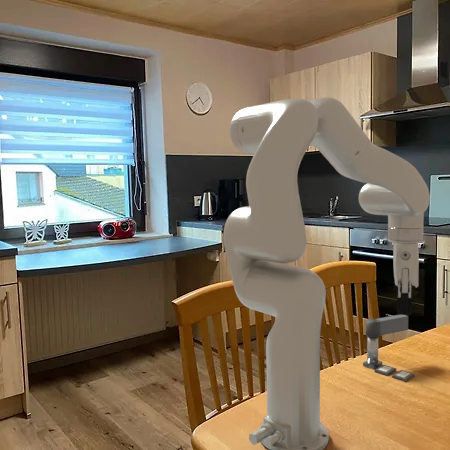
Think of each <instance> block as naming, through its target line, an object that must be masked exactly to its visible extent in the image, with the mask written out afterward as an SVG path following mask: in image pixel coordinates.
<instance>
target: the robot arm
mask: <svg viewBox="0 0 450 450" xmlns="http://www.w3.org/2000/svg"><path fill="white" fill-rule="evenodd" d="M229 135H230V140H231V142H232V143H233V146H234V147H235V148H236V149H237V150H238V151H240V152H242V153H244V154H247V155H253V156H252V158H251V160H250V163H249V165H248V168H247V172H246V176H245V177H246V178H245V179H246V180H245V187H246V188H245V189H246V193H247V194H246V195H247V200H248V205H247V206H241V207H238V208H237V209H235V210H234V211H232V212H231V213H230V214H229V215H228V217H227V219H226V221H225V224H224V227H223V239H222V240H223V246H224V252H225V255H226V259H227V265H228V268H229V271H230V272H229V273H230V277H231V280H232V285H233V288H234V292H235V294H236V297H237V298H238V300H239V302H240V303H241V304H242V305H243V306H244V307H246V308H248V309H251V310H252V311H255V312H258V313H259V312H260V313H263V314H266V315H268V316H269V315H270V316H272V317H275V320H274V324H273V325H272V327H271V329H270V330H269V333H268V335H267V338H266V343H265V357H266V358H265V359H266V361H265V362H266V363H265V364H266V416H264V417H263V422H262V423H261V424H260V426H259V428H258V429H256V430H254V431H252V432H251V433H250V434H249V435H248V440H249V442H250V444H252V445H255V446H256V445H257V444H259V443H261V444H262V445H263V446H264V447H266V448H267V449H268V450H324V449H325V448H326V447H327V445H328V443H329V440H330V438H329V437H330V436H329V434H330V433H329V431H328V428H327V427H326V426H325V425H324V424H323V423H322V422H321V369H320V368H321V355H320V354H321V353H320V352H321V349H320V348H321V346H320V341H321V327H322V319H323V313H324V309H325V304H326V297H327V296H326V295H327V290H326V286H325V284H324V281H323V279H322V278H321V277H320V275H318V274H317V273H316V272H315V271H312V270H311V269H309V268H306V267H301V266H297V265H292V264H289V263H294V262H296V261H298V260H300V259H301V258H302V257H303V256H304V254H305V253H306V248H307V244H308V243H307V239H308V238H307V231H306V226H305V221H304V216H303V209H302V204H301V198H300V193H299V185H298V172H299V168H300V165H301V162H302V160H303V158H304V155H305V154H306V152H307V150H308V148H310V146H312V147H314V148H316V149H317V150H318V151H319V152H320V153H321V154H322V156H323V157H324V158H325V159H326V160H327V161H328V163H329V164H330V165H331V166H332V167H333V168H334V169H335V170H336V172H338V173H339V174H340V175H341V176H343V177H345V178H348V179H350V180H353V181H357V182H360V183H365V184H364V185H363V186H362V187H361V189H359V193H358V203H359V206H360V207H361V209H362V210H363V211H364V212H366V213H368V214H371V215H376V216H387V219H388V220H387V226H388V227H387V242H389V243H392V244H393V245H392V246H393V249H392V250H393V251H392V252H393V259H392V261H393V277H394V285H395V286H396V287H397V288H398V289H397V295H396V315H406V316H412V314H413V309H412V308H413V297H412V286H413V287H415V288H418V287H419V266H420V265H419V264H420V262H419V261H420V259H419V258H420V257H419V253H420V251H419V244H422V243H424V219H425V218H424V217H425V216H424V215H425V212H426V211H427V209H428V207H429V205H430V201H431V197H430V190H429V188H428V185H427V183H426V182H425V180H424V178H423V176H422V175H421V174H420V172H419V170H417V168H416V167H415V166H414V165H413V164H411V163H410V162H409V161H408V160H406V159H404V158H402V157H401V156H399V155H397V154H395V153H393V152H391V151H389V150H387V149H385V148H383V147H381V146H378V145H376V144H374V143H373V141H371V140H370V138H369V137H368V135H367V134H366V133H365V131H364V130H363V129H362V127H361V126H360V125H359V123H358V122H357V120H355V118H354V117H353V116H352V114H351V113H350V112H349V110H348V108H347V107H346V106H345V105H344V104H343V103H342V102H341V101H339V100H338V99H337V98H333V97H319V98H318V97H317V98H312V99H311V98H310V99H303V98H287V99H281V100H276V101H271V102H267V103H262V104H256V105H252V106H248V107H244V108H242V109H240V110H239V111H237V112H236V113H235V115H234V116H233V117H232V119H231V121H230V124H229Z"/></svg>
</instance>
